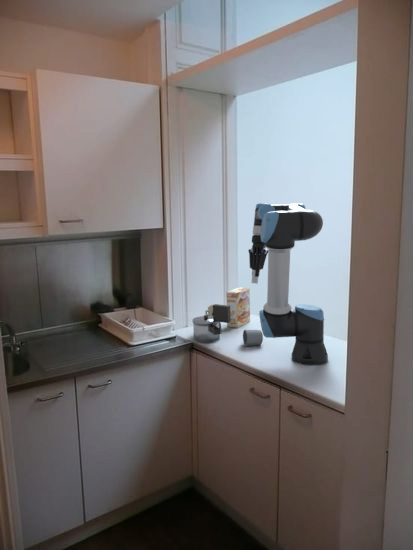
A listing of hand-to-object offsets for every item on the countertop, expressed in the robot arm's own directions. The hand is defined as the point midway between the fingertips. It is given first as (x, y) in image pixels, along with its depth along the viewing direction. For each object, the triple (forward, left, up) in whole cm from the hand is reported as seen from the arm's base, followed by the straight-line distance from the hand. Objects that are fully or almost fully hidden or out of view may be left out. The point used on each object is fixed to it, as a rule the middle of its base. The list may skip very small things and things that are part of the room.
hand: (254, 283), depth 222 cm
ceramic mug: (-8, +7, -28) cm, 30 cm away
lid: (+8, +20, -19) cm, 28 cm away
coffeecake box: (+27, -5, -28) cm, 39 cm away
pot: (+9, +22, -28) cm, 36 cm away
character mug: (+24, +11, -28) cm, 38 cm away
